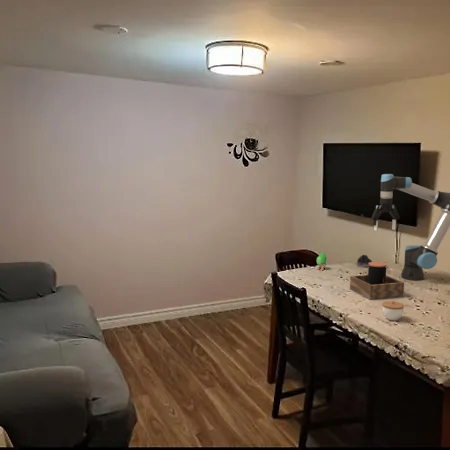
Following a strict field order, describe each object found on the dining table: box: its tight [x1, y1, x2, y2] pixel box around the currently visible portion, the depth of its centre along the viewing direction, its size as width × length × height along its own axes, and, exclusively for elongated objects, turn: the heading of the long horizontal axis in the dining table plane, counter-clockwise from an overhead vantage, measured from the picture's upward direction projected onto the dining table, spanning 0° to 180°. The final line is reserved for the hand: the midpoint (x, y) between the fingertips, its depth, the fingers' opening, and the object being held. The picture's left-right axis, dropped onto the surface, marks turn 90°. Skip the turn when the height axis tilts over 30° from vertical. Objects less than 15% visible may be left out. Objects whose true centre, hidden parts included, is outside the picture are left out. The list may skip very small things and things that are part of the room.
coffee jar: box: [367, 261, 387, 285], centre depth 285 cm, size 11×11×18 cm
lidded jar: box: [381, 300, 405, 321], centre depth 241 cm, size 11×11×9 cm
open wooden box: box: [349, 274, 405, 301], centre depth 285 cm, size 23×23×9 cm
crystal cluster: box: [356, 254, 373, 268], centre depth 357 cm, size 13×14×10 cm
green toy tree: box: [315, 252, 327, 271], centre depth 346 cm, size 15×14×14 cm
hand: (384, 230), depth 301 cm, fingers open, 13 cm apart
